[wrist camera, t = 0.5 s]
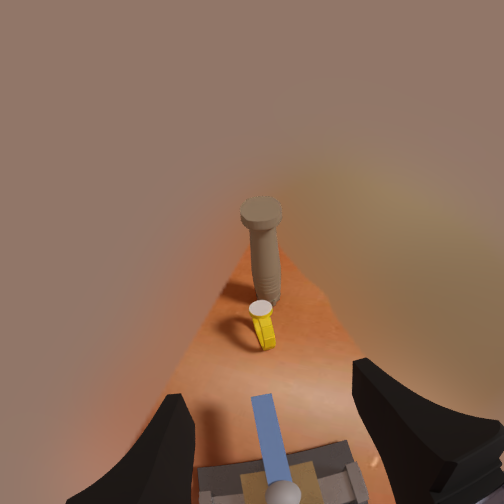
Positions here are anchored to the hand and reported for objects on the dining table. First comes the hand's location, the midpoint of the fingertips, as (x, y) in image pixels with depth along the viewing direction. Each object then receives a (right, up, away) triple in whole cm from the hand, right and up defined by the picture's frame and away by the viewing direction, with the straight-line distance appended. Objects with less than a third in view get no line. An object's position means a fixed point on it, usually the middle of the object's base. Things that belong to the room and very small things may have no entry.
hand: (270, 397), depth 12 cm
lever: (+1, -11, +10) cm, 15 cm away
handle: (+2, -1, +34) cm, 34 cm away
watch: (+1, -6, +28) cm, 29 cm away
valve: (+2, -18, +10) cm, 20 cm away
